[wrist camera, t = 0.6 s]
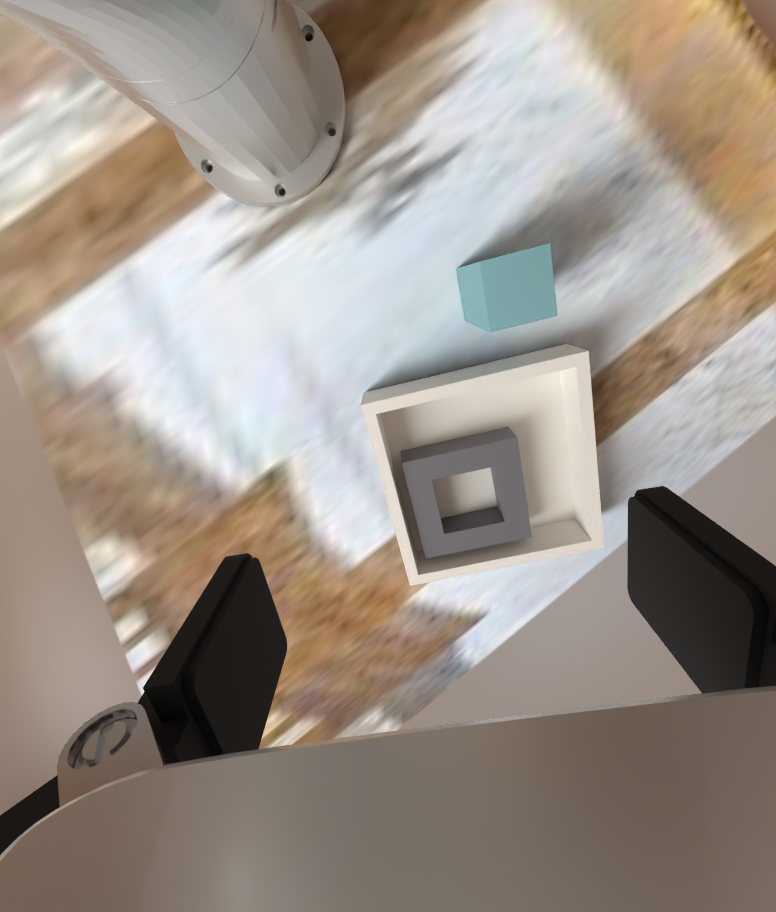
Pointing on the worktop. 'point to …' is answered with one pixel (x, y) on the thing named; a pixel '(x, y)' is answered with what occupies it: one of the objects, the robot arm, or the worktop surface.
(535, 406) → the walled box
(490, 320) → the peg
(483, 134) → the worktop surface
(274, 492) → the worktop surface
